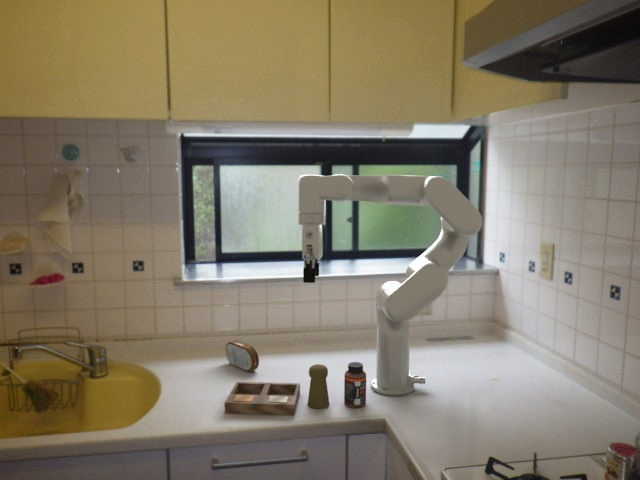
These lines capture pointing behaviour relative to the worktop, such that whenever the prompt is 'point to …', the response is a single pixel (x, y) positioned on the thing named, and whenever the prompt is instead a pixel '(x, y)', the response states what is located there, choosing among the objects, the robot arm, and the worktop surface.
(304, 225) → the robot arm
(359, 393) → the supplement bottle
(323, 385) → the olive piece
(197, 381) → the worktop surface
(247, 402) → the socket block
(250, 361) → the tin
